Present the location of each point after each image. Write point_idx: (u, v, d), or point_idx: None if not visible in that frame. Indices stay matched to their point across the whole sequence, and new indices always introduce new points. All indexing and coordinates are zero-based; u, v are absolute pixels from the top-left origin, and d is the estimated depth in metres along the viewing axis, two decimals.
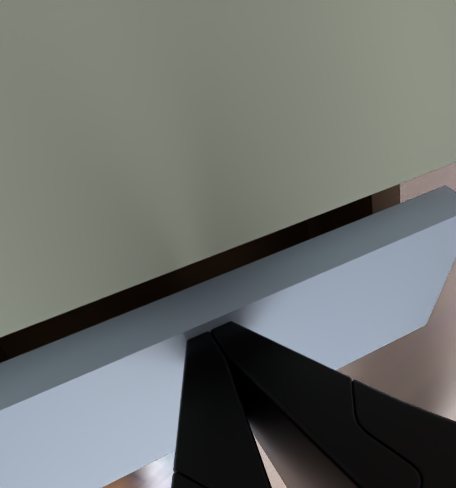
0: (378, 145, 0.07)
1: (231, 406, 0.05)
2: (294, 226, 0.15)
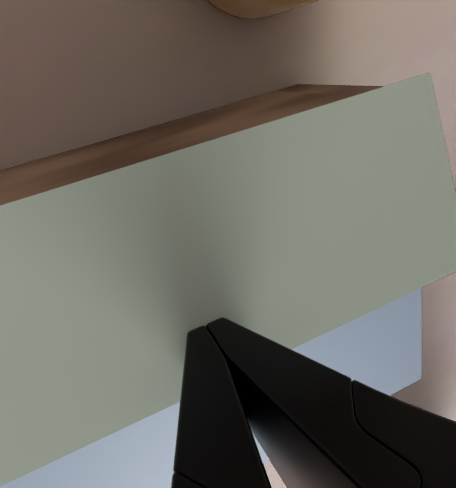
0: (377, 272, 0.09)
1: (231, 406, 0.05)
2: None
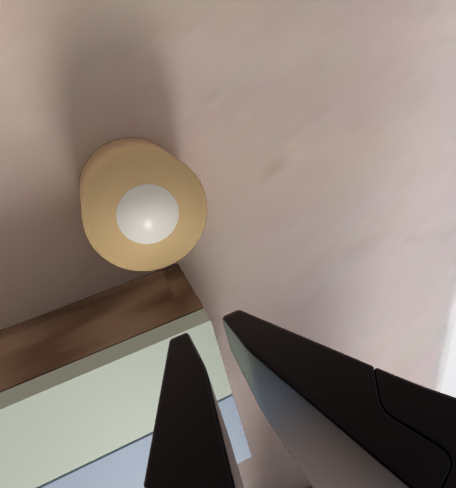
0: None
1: (206, 418, 0.05)
2: None
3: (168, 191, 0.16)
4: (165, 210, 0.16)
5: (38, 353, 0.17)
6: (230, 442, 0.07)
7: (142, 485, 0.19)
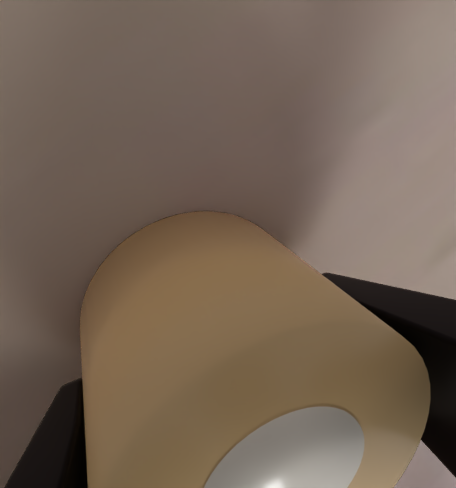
0: None
1: None
2: None
3: (348, 414, 0.05)
4: (331, 460, 0.06)
5: None
6: None
7: None
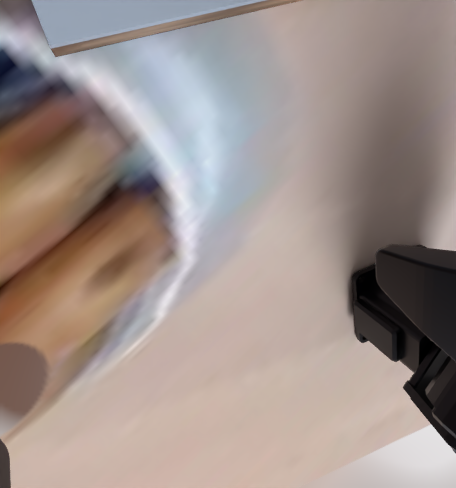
0: None
1: None
2: None
3: None
4: None
5: None
6: None
7: None
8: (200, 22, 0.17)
